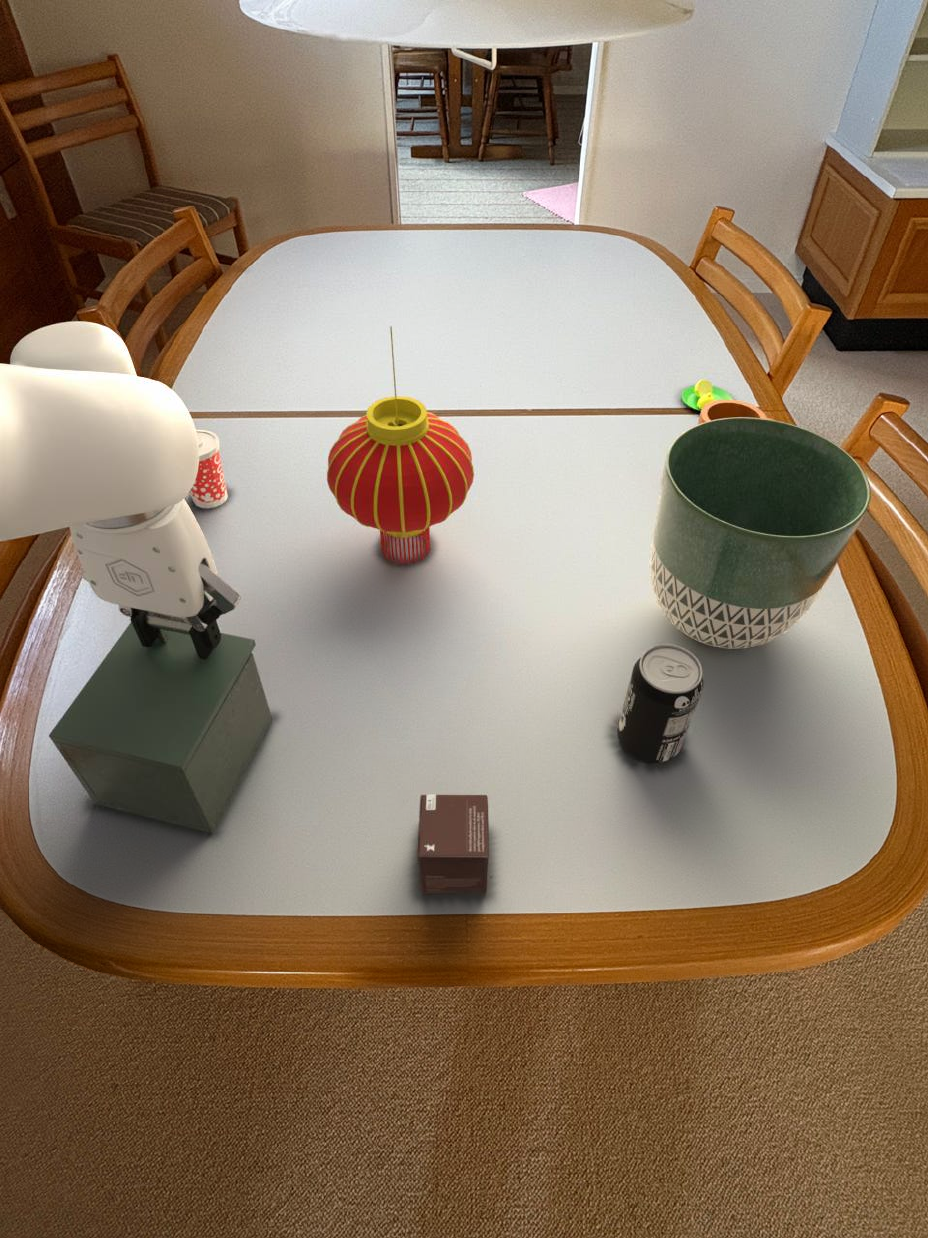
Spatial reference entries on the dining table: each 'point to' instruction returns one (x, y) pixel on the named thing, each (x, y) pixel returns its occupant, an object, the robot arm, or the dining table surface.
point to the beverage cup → (209, 473)
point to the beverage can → (660, 703)
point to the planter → (750, 527)
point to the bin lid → (154, 695)
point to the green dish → (703, 394)
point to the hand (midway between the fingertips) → (181, 640)
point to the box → (453, 843)
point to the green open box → (206, 777)
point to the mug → (729, 410)
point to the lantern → (400, 471)
